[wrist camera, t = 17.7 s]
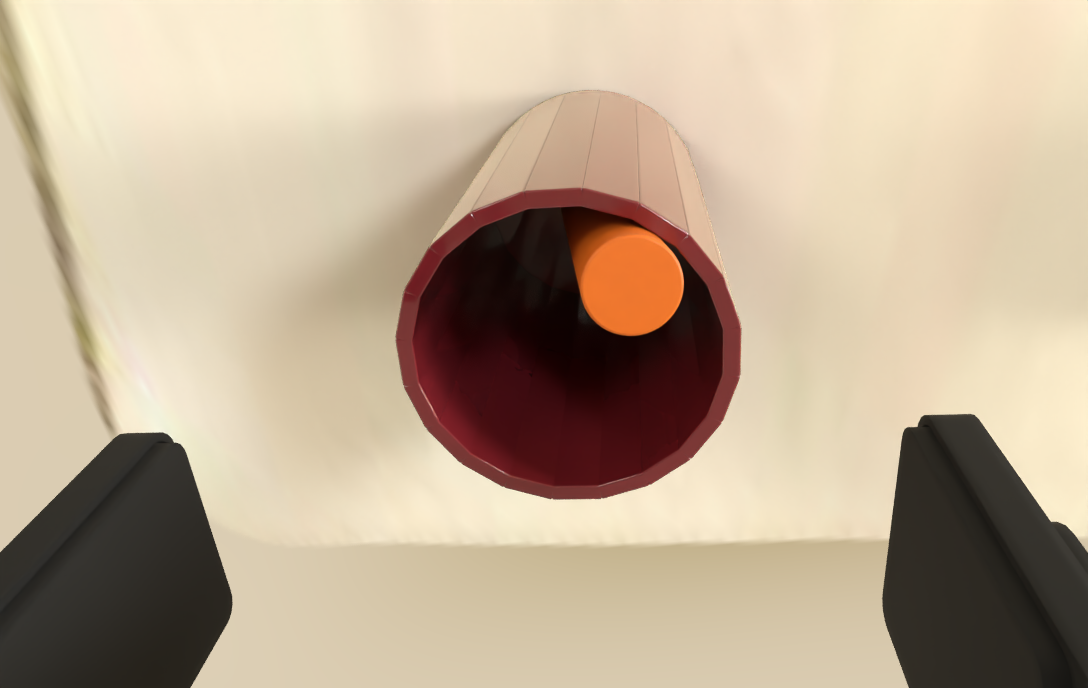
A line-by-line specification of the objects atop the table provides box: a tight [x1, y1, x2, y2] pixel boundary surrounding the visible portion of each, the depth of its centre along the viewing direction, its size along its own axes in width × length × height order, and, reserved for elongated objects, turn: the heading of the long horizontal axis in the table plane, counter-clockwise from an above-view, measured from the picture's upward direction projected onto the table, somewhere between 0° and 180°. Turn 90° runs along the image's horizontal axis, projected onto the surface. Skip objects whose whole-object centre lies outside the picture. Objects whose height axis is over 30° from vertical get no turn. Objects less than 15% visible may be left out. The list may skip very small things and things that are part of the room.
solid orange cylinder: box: [561, 206, 684, 336], centre depth 20 cm, size 2×2×12 cm
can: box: [396, 90, 741, 499], centre depth 22 cm, size 7×7×12 cm
